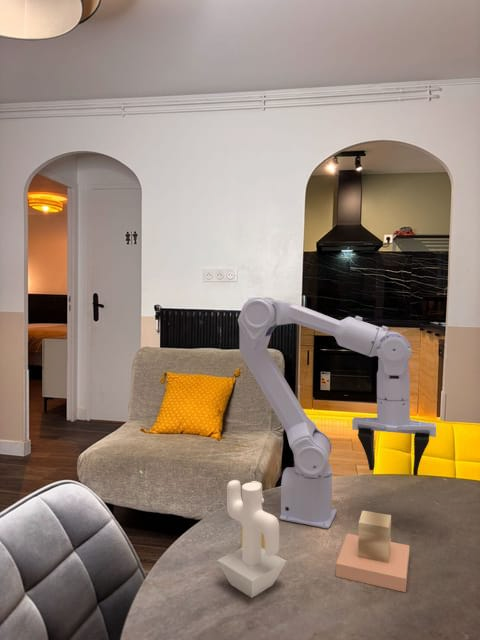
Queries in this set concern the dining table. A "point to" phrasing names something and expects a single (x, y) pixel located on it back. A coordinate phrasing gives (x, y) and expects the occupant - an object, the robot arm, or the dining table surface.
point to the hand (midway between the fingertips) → (393, 471)
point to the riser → (374, 566)
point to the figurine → (252, 541)
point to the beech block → (374, 536)
